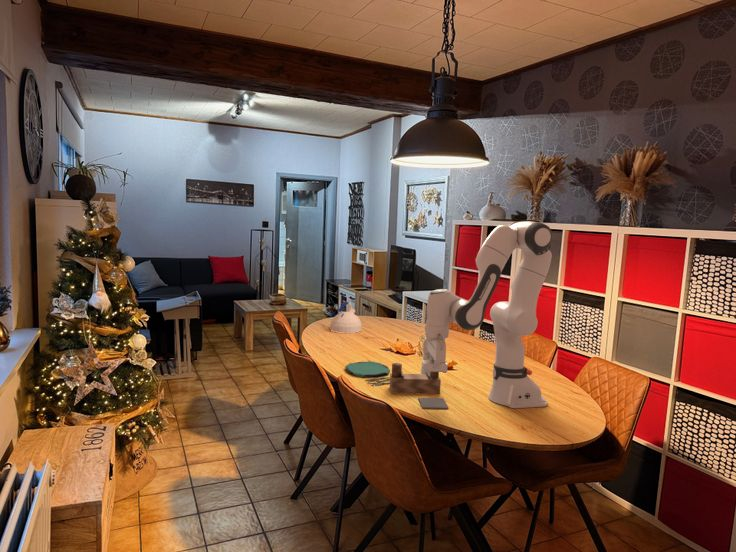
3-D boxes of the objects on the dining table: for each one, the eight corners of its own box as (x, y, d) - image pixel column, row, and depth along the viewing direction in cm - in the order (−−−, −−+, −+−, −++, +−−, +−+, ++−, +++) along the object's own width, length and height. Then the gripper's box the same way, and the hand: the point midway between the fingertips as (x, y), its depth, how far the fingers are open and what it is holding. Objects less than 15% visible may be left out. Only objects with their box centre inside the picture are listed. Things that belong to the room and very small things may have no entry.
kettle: (367, 329, 321) (368, 301, 318) (353, 335, 302) (354, 306, 300) (339, 325, 329) (340, 298, 327) (323, 331, 310) (324, 302, 308)
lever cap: (444, 368, 195) (445, 358, 195) (447, 371, 191) (447, 362, 190) (421, 367, 195) (422, 358, 194) (423, 371, 190) (424, 361, 190)
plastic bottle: (425, 373, 233) (427, 331, 230) (438, 376, 229) (440, 333, 226) (417, 376, 228) (419, 333, 226) (430, 379, 224) (432, 335, 221)
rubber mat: (443, 399, 199) (443, 398, 199) (448, 409, 190) (448, 407, 190) (418, 399, 199) (418, 397, 199) (422, 408, 189) (422, 407, 189)
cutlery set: (378, 363, 246) (378, 359, 245) (406, 384, 218) (406, 379, 218) (339, 367, 238) (339, 363, 238) (364, 389, 211) (364, 384, 210)
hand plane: (436, 388, 213) (438, 360, 211) (439, 393, 206) (441, 365, 205) (389, 387, 212) (390, 359, 210) (391, 393, 205) (392, 364, 203)
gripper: (451, 338, 181) (448, 375, 182) (439, 326, 201) (437, 359, 203) (433, 337, 180) (431, 375, 182) (424, 325, 201) (422, 359, 202)
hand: (434, 367), depth 192 cm, fingers closed on lever cap, 4 cm apart
